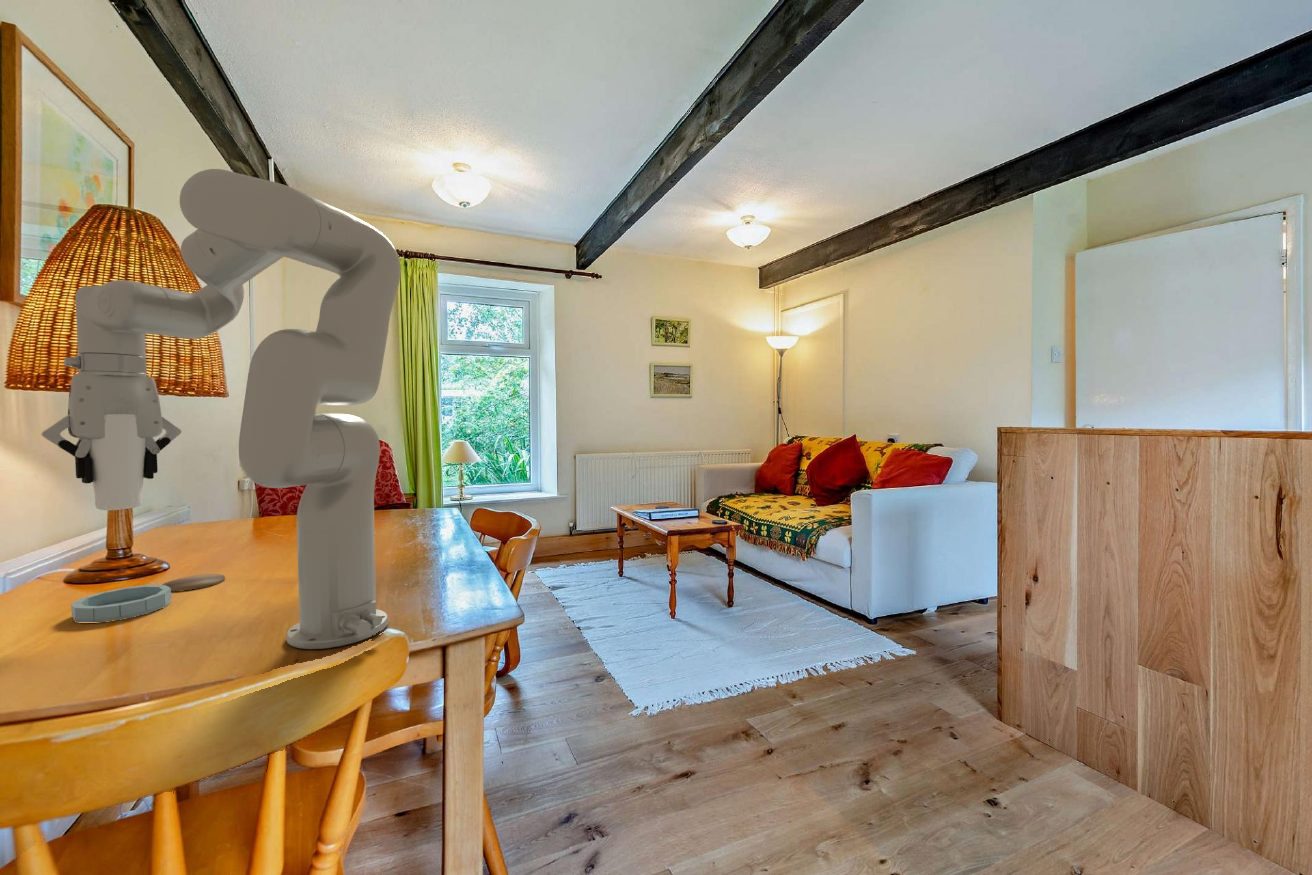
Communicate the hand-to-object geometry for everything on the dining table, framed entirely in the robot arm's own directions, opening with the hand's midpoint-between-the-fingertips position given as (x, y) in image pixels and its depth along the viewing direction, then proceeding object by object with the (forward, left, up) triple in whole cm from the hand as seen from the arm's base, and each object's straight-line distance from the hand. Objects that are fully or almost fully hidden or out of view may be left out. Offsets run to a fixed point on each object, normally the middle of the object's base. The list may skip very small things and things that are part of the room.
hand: (118, 479), depth 85 cm
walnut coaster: (+8, -11, -21) cm, 25 cm away
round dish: (0, 0, -21) cm, 21 cm away
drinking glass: (0, 0, -5) cm, 5 cm away
